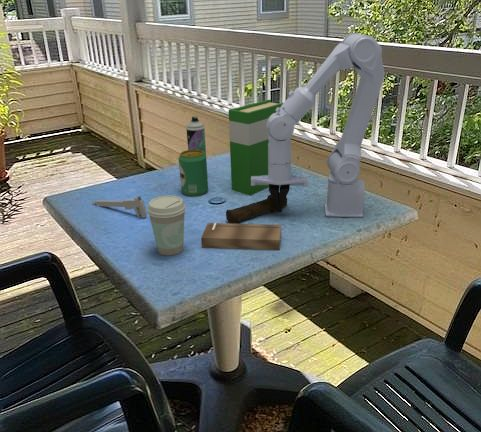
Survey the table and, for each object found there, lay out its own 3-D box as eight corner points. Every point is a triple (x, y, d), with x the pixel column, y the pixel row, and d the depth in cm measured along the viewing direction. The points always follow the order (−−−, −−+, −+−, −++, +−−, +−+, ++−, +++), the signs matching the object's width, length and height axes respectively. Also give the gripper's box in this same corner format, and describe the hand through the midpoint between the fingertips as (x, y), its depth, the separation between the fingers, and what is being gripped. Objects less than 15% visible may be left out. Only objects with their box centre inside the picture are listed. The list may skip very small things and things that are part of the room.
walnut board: (281, 234, 117) (281, 224, 116) (279, 249, 110) (279, 239, 109) (208, 232, 119) (207, 222, 118) (201, 247, 112) (201, 237, 111)
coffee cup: (157, 262, 106) (151, 212, 101) (148, 245, 114) (142, 198, 109) (194, 253, 109) (190, 205, 104) (183, 238, 117) (178, 192, 112)
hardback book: (269, 174, 156) (268, 99, 146) (287, 179, 152) (288, 102, 142) (231, 190, 145) (228, 109, 135) (250, 195, 140) (248, 113, 130)
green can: (179, 189, 147) (175, 151, 142) (204, 185, 149) (202, 147, 144) (184, 198, 140) (181, 158, 135) (211, 194, 142) (208, 155, 137)
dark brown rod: (233, 227, 122) (232, 210, 120) (225, 221, 125) (224, 205, 123) (293, 209, 131) (293, 193, 129) (284, 205, 134) (284, 189, 132)
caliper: (147, 218, 128) (144, 196, 126) (144, 220, 128) (141, 198, 125) (94, 203, 139) (91, 183, 136) (91, 205, 138) (88, 184, 135)
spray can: (192, 175, 157) (187, 114, 149) (209, 176, 156) (205, 114, 148) (188, 181, 152) (183, 118, 144) (205, 182, 151) (201, 118, 143)
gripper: (308, 156, 124) (307, 205, 130) (252, 156, 126) (253, 204, 132) (308, 165, 118) (307, 216, 123) (249, 165, 120) (250, 214, 125)
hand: (279, 210), depth 127 cm, fingers closed
